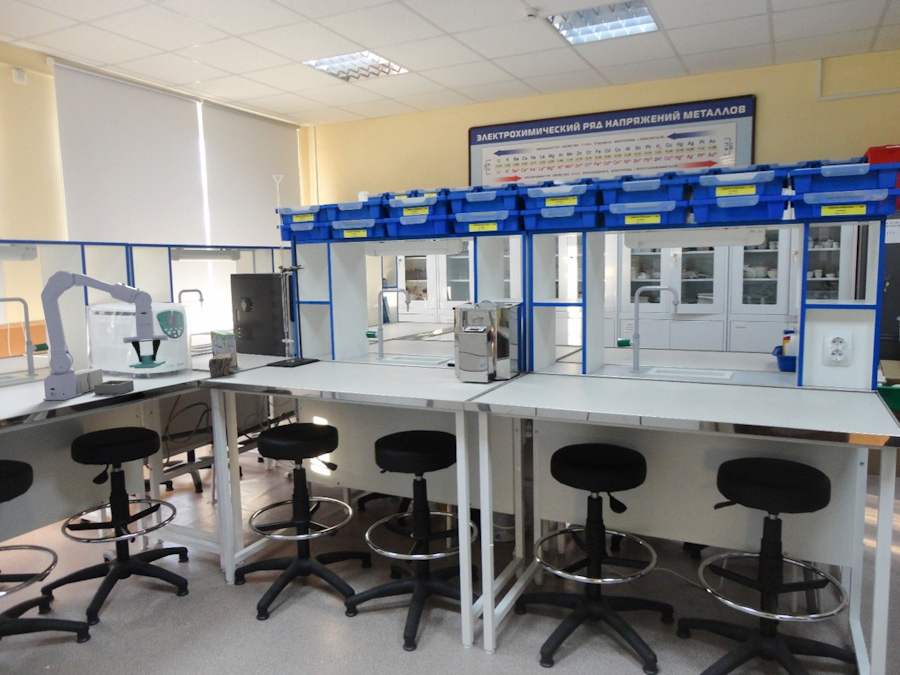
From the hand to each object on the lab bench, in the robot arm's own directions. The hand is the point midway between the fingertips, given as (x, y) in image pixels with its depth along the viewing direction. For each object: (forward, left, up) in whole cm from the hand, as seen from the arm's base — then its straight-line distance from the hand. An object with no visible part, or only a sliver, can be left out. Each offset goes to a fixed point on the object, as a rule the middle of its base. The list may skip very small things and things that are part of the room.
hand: (147, 361), depth 232 cm
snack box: (+58, -2, -11) cm, 59 cm away
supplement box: (+3, +23, -7) cm, 25 cm away
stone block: (+33, -13, -11) cm, 37 cm away
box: (-6, +10, -10) cm, 15 cm away
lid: (0, 0, -2) cm, 2 cm away
